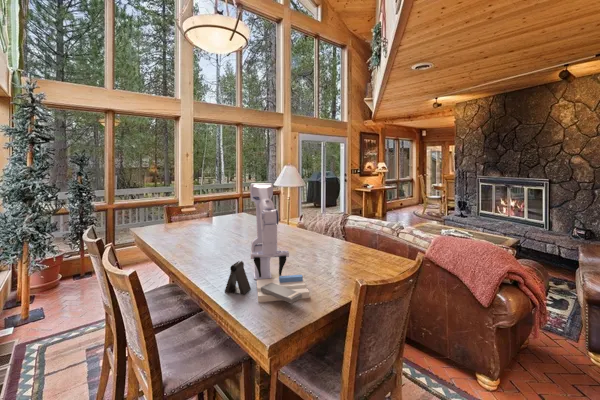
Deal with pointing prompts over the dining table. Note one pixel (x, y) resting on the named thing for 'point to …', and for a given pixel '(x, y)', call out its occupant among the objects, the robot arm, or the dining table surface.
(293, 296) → the cover
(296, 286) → the duct deck
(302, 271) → the dining table surface
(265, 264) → the robot arm
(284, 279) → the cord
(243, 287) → the black folding stand
